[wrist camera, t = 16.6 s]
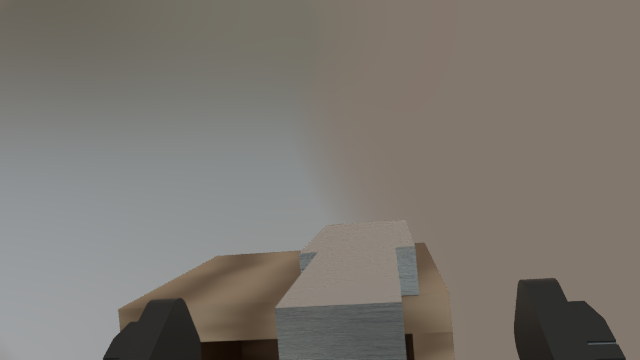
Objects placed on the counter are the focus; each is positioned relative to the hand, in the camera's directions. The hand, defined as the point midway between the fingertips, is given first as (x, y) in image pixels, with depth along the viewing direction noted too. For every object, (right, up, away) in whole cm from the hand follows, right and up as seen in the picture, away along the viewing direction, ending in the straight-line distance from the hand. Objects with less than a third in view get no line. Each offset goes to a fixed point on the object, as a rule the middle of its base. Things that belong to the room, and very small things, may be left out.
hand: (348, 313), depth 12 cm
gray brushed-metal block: (+1, -3, +13) cm, 14 cm away
